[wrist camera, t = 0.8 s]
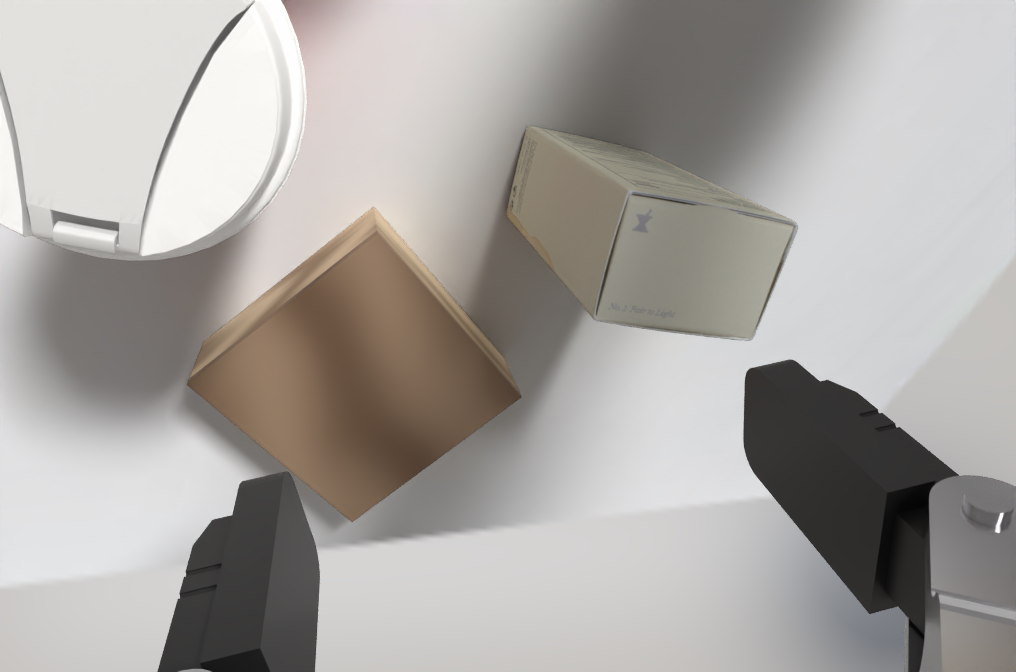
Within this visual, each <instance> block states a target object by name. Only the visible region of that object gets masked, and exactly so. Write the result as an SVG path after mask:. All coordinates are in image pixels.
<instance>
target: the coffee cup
mask: <svg viewBox="0 0 1016 672" xmlns="http://www.w3.org/2000/svg"><path fill="white" fill-rule="evenodd" d="M306 105H307V94H306V80H305V69H304V65H303V60H302V56H301V52H300V47H299V43H298V39H297V37H296V34H295V31H294V29H293V26H292V24H291V21H290V18H289V16H288V13H287V11H286V8H285V7H284V5H283V3H282V1H281V0H0V224H2V225H4V226H6V227H7V228H9V229H11V230H13V231H15V232H17V233H19V234H21V235H23V236H25V237H28V236H31V235H33V236H35V237H37V238H39V239H41V240H43V241H46V242H49V243H51V244H54V245H57V246H59V247H62V248H65V249H67V250H70V251H74V252H78V253H82V254H87V255H91V256H95V257H99V258H107V259H117V260H126V261H142V260H162V259H167V258H173V257H179V256H185V255H188V254H191V253H194V252H197V251H200V250H203V249H206V248H209V247H212V246H214V245H216V244H218V243H220V242H222V241H224V240H225V239H227V238H229V237H231V236H233V235H235V234H236V233H238V232H239V231H240V230H242V229H243V228H244V227H246V226H247V225H248V224H250V223H251V222H252V221H254V220H255V219H256V218H257V217H258V216H259V215H260V214H261V213H262V212H263V211H264V210H265V209H266V207H267V206H268V205H269V204H270V203H271V202H272V201H273V200H274V198H275V197H276V195H277V194H278V192H279V191H280V189H281V188H282V186H283V185H284V183H285V182H286V180H287V179H288V176H289V174H290V172H291V169H292V167H293V165H294V163H295V160H296V158H297V156H298V153H299V149H300V145H301V141H302V137H303V133H304V129H305V118H306Z"/></svg>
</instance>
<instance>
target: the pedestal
mask: <svg viewBox="0 0 1016 672" xmlns="http://www.w3.org/2000/svg"><path fill="white" fill-rule="evenodd" d="M187 385H188V386H189V387H191V388H192V389H193V390H194V391H195V392H197V393H198V394H199V395H200V396H201V397H203V398H204V399H205V400H206V401H207V402H209V403H210V404H211V405H212V406H213V407H215V408H216V409H217V410H218V411H219V412H221V413H222V414H223V415H224V416H225V417H227V418H228V419H229V420H230V421H231V422H233V423H234V424H235V425H236V426H237V427H239V428H240V429H241V430H242V431H243V432H244V433H246V434H247V435H248V436H249V437H250V438H252V439H253V440H254V441H255V442H256V443H258V444H259V445H260V446H261V447H262V448H264V449H265V450H266V451H267V452H268V453H270V454H271V455H272V456H273V457H274V458H276V459H277V460H278V461H279V462H280V463H282V464H283V465H284V466H285V467H286V468H288V469H289V470H290V471H291V472H292V473H294V474H295V475H296V476H297V477H298V478H300V479H301V480H302V481H303V482H304V483H306V484H307V485H308V486H309V487H310V488H312V489H313V490H314V491H315V492H316V493H318V494H319V495H320V496H321V497H322V498H324V499H325V500H326V501H327V502H328V503H330V504H331V505H332V506H333V507H334V508H336V509H337V510H338V511H339V512H340V513H342V514H343V515H344V516H345V517H346V518H348V519H349V520H350V521H351V522H353V521H354V520H356V519H357V518H359V517H360V516H361V515H363V514H364V513H365V512H367V511H368V510H369V509H371V508H372V507H373V506H375V505H376V504H377V503H379V502H380V501H382V500H383V499H384V498H386V497H387V496H388V495H390V494H391V493H392V492H394V491H395V490H396V489H398V488H399V487H400V486H402V485H403V484H405V483H406V482H407V481H409V480H410V479H411V478H413V477H414V476H415V475H417V474H418V473H419V472H421V471H422V470H423V469H425V468H426V467H428V466H429V465H430V464H432V463H433V462H434V461H436V460H437V459H438V458H440V457H441V456H442V455H444V454H445V453H446V452H448V451H449V450H451V449H452V448H453V447H455V446H456V445H457V444H459V443H460V442H461V441H463V440H464V439H465V438H467V437H468V436H469V435H471V434H472V433H474V432H475V431H476V430H478V429H479V428H480V427H482V426H483V425H484V424H486V423H487V422H488V421H490V420H491V419H493V418H494V417H495V416H497V415H498V414H499V413H501V412H502V411H503V410H505V409H506V408H507V407H509V406H510V405H511V404H513V403H514V402H516V401H517V400H518V399H520V398H521V395H520V393H519V390H518V388H517V386H516V384H515V381H514V379H513V377H512V375H511V372H510V370H509V368H508V366H507V363H506V361H505V359H504V357H503V356H502V355H501V353H500V352H499V351H498V350H497V349H496V348H495V347H494V345H493V344H492V343H491V342H490V341H489V340H488V338H487V337H486V336H485V335H484V334H483V333H482V331H481V330H480V329H479V328H478V327H477V326H476V324H475V323H474V322H473V321H472V320H471V319H470V318H469V316H468V315H467V314H466V313H465V312H464V311H463V309H462V308H461V307H460V306H459V305H458V304H457V302H456V301H455V300H454V299H453V298H452V297H451V295H450V294H449V293H448V292H447V291H446V290H445V289H444V287H443V286H442V285H441V284H440V283H439V282H438V280H437V279H436V278H435V277H434V276H433V275H432V273H431V272H430V271H429V270H428V269H427V268H426V266H425V265H424V264H423V263H422V262H421V261H420V260H419V258H418V257H417V256H416V255H415V254H414V253H413V251H412V250H411V249H410V248H409V247H408V246H407V244H406V243H405V242H404V241H403V240H402V239H401V237H400V236H399V235H398V234H397V233H396V232H395V231H394V229H393V228H392V227H391V226H390V225H389V224H388V222H387V221H386V220H385V219H384V218H383V217H382V215H381V214H380V213H379V212H378V211H377V210H376V208H375V207H373V208H371V209H370V210H369V211H368V212H366V213H365V214H364V215H363V216H361V217H360V218H359V219H358V220H356V221H355V222H354V223H353V224H351V225H350V226H349V227H347V228H346V229H345V230H344V231H342V232H341V233H340V234H339V235H337V236H336V237H335V238H334V239H332V240H331V241H330V242H329V243H327V244H326V245H325V246H324V247H322V248H321V249H320V250H319V251H317V252H316V253H315V254H314V255H312V256H311V257H310V258H309V259H307V260H306V261H305V262H303V263H302V264H301V265H300V266H298V267H297V268H296V269H295V270H293V271H292V272H291V273H290V274H288V275H287V276H286V277H285V278H283V279H282V280H281V281H280V282H278V283H277V284H276V285H275V286H273V287H272V288H271V289H270V290H268V291H267V292H266V293H264V294H263V295H262V296H261V297H259V298H258V299H257V300H256V301H254V302H253V303H252V304H251V305H249V306H248V307H247V308H246V309H244V310H243V311H242V312H241V313H239V314H238V315H237V316H236V317H234V318H233V319H232V320H231V321H229V322H228V323H227V324H226V325H224V326H223V327H222V328H220V329H219V330H218V331H217V332H215V333H214V334H213V335H212V336H210V337H209V338H208V339H207V340H205V341H204V342H203V345H202V347H201V350H200V352H199V355H198V357H197V360H196V363H195V365H194V368H193V370H192V373H191V375H190V378H189V380H188V383H187Z"/></svg>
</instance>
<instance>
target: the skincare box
mask: <svg viewBox="0 0 1016 672" xmlns="http://www.w3.org/2000/svg"><path fill="white" fill-rule="evenodd" d="M507 218H508V219H509V220H510V221H511V222H512V223H513V225H514V226H515V227H516V228H517V229H518V230H519V232H520V233H521V234H522V235H523V236H524V237H525V239H526V240H527V241H528V242H529V243H530V244H531V246H532V247H533V248H534V249H535V250H536V252H537V253H538V254H539V255H540V256H541V257H542V259H543V260H544V261H545V262H546V263H547V264H548V266H549V267H550V268H551V269H552V270H553V271H554V273H555V274H556V275H557V276H558V277H559V279H560V280H561V281H562V282H563V283H564V284H565V286H566V287H567V288H568V289H569V290H570V291H571V293H572V294H573V295H574V296H575V297H576V298H577V300H578V301H579V302H580V303H581V304H582V306H583V307H584V308H585V309H586V311H587V312H588V313H589V314H590V315H591V317H592V318H593V319H594V320H597V321H601V322H606V323H611V324H618V325H623V326H629V327H636V328H642V329H650V330H657V331H664V332H672V333H681V334H686V335H687V334H688V335H697V336H705V337H715V338H723V339H731V340H744V341H750V340H752V339H753V337H754V336H755V333H756V330H757V328H758V326H759V324H760V321H761V319H762V316H763V314H764V312H765V309H766V307H767V304H768V302H769V300H770V297H771V295H772V292H773V290H774V288H775V285H776V283H777V280H778V278H779V276H780V273H781V271H782V268H783V266H784V263H785V261H786V258H787V255H788V253H789V250H790V248H791V246H792V243H793V241H794V238H795V235H796V233H797V230H798V225H797V223H796V222H794V221H793V220H791V219H789V218H786V217H784V216H782V215H780V214H778V213H776V212H773V211H771V210H769V209H767V208H765V207H762V206H760V205H758V204H756V203H754V202H752V201H750V200H748V199H745V198H743V197H741V196H739V195H737V194H735V193H733V192H730V191H728V190H726V189H724V188H722V187H719V186H717V185H715V184H713V183H711V182H709V181H707V180H704V179H702V178H700V177H698V176H696V175H694V174H692V173H690V172H687V171H685V170H683V169H681V168H679V167H677V166H675V165H672V164H670V163H668V162H666V161H664V160H662V159H660V158H657V157H655V156H653V155H651V154H649V153H647V152H644V151H640V150H636V149H632V148H628V147H624V146H620V145H616V144H612V143H608V142H604V141H600V140H595V139H591V138H586V137H582V136H577V135H573V134H568V133H563V132H559V131H554V130H549V129H544V128H539V127H533V126H529V127H527V129H526V132H525V136H524V140H523V144H522V148H521V152H520V155H519V159H518V164H517V168H516V172H515V176H514V180H513V185H512V189H511V194H510V199H509V204H508V209H507Z"/></svg>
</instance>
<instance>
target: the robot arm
mask: <svg viewBox="0 0 1016 672" xmlns="http://www.w3.org/2000/svg"><path fill="white" fill-rule="evenodd" d="M743 438H744V449H745V453H746V457H747V460H748V462H749V465H750V467H751V469H752V470H753V472H754V474H755V475H756V476H757V477H758V479H759V480H760V481H761V482H762V484H763V485H764V486H765V487H766V488H767V490H768V491H769V492H770V493H771V494H772V496H773V497H774V498H775V499H776V501H777V502H778V503H779V504H780V505H781V507H782V508H783V509H784V510H785V512H786V513H787V514H788V515H789V516H790V518H791V519H792V520H793V521H794V523H795V524H796V525H797V526H798V527H799V529H800V530H801V531H802V532H803V533H804V535H805V536H806V537H807V538H808V540H809V541H810V542H811V543H812V544H813V546H814V547H815V548H816V549H817V551H818V552H819V553H820V554H821V555H822V557H823V558H824V559H825V560H826V561H827V563H828V564H829V565H830V566H831V568H832V569H833V570H834V571H835V572H836V574H837V575H838V576H839V577H840V579H841V580H842V581H843V582H844V583H845V585H846V586H847V587H848V588H849V589H850V591H851V592H852V593H853V594H854V596H855V597H856V598H857V599H858V600H859V602H860V603H861V604H862V605H863V607H864V608H865V609H866V610H867V611H868V613H869V614H871V613H875V612H879V611H882V610H886V609H890V608H894V607H897V606H898V607H899V608H900V609H901V610H902V611H903V612H904V613H905V615H906V616H907V621H906V626H905V635H904V636H905V637H904V672H1016V487H1015V486H1013V485H1011V484H1008V483H1006V482H1003V481H1000V480H996V479H992V478H988V477H982V476H970V475H968V476H967V475H963V476H959V475H958V474H957V473H956V472H954V471H953V470H952V469H950V468H949V467H948V466H947V465H946V464H944V463H943V462H942V461H941V460H939V459H938V458H937V457H936V456H935V455H933V454H932V453H931V452H930V451H928V450H927V449H926V448H925V447H923V446H922V445H921V444H920V443H919V442H917V441H916V440H915V439H914V438H912V437H911V436H910V435H909V434H907V433H906V432H905V431H904V430H902V429H901V428H900V427H898V428H896V426H895V423H894V422H893V421H891V420H890V419H889V418H888V417H886V416H885V415H884V414H883V413H879V412H878V409H877V408H875V407H874V406H873V405H872V404H870V403H869V402H868V401H867V400H866V399H864V398H863V397H862V396H861V395H859V394H858V393H857V392H855V391H852V390H850V389H848V388H845V387H843V386H841V385H838V384H836V383H833V382H831V381H829V380H825V381H821V382H820V381H819V380H817V379H816V378H815V377H814V376H813V375H812V374H810V373H809V372H808V371H807V370H806V369H805V368H803V367H802V366H801V365H800V364H799V363H797V362H796V361H794V360H786V361H781V362H777V363H772V364H768V365H763V366H759V367H755V368H750V369H749V370H748V371H747V373H746V377H745V397H744V437H743ZM319 583H320V571H319V561H318V555H317V550H316V546H315V542H314V539H313V536H312V533H311V530H310V527H309V524H308V521H307V518H306V516H305V513H304V510H303V507H302V504H301V501H300V498H299V495H298V492H297V489H296V487H295V484H294V481H293V479H292V476H291V475H290V473H289V472H282V473H278V474H273V475H269V476H264V477H260V478H255V479H251V480H246V481H242V482H241V483H240V485H239V488H238V493H237V497H236V502H235V506H234V511H233V515H232V516H227V517H223V518H219V519H214V520H212V521H211V523H210V524H209V525H208V527H207V528H206V529H205V530H204V532H203V533H202V534H201V536H200V537H199V538H198V540H197V541H196V542H195V544H194V545H193V547H192V551H191V554H190V558H189V561H188V565H187V569H186V577H184V579H183V583H182V586H181V590H180V599H178V601H177V604H176V608H175V611H174V615H173V619H172V623H171V626H170V629H169V633H168V636H167V640H166V644H165V647H164V651H163V655H162V658H161V661H160V665H159V669H158V672H315V658H316V640H317V621H318V601H319Z"/></svg>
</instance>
